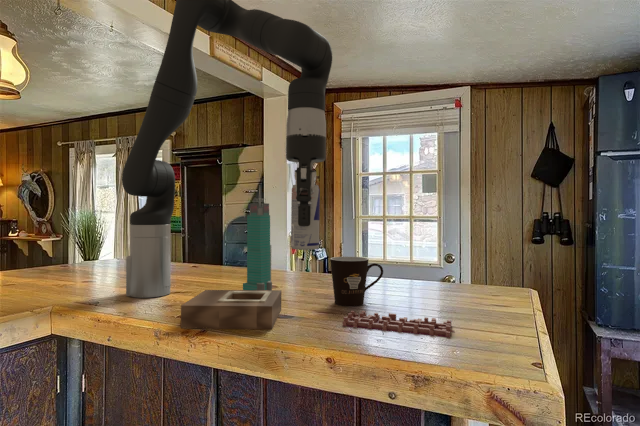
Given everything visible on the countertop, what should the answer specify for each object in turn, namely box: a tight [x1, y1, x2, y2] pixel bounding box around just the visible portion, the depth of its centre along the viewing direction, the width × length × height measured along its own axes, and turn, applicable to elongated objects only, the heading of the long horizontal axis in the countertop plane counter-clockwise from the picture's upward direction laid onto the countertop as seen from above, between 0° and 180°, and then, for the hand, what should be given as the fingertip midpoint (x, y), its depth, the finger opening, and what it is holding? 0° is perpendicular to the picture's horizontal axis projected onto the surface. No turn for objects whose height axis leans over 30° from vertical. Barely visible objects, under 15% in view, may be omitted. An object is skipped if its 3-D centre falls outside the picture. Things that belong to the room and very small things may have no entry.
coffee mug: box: [329, 256, 384, 308], centre depth 89 cm, size 12×9×10 cm
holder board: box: [180, 289, 282, 330], centre depth 77 cm, size 16×14×4 cm
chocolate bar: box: [342, 310, 456, 338], centre depth 72 cm, size 7×19×2 cm, turn 70°
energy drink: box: [290, 184, 321, 251], centre depth 76 cm, size 5×5×12 cm
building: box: [242, 173, 273, 290], centre depth 98 cm, size 6×6×30 cm
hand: (305, 224), depth 76 cm, fingers closed on energy drink, 5 cm apart
